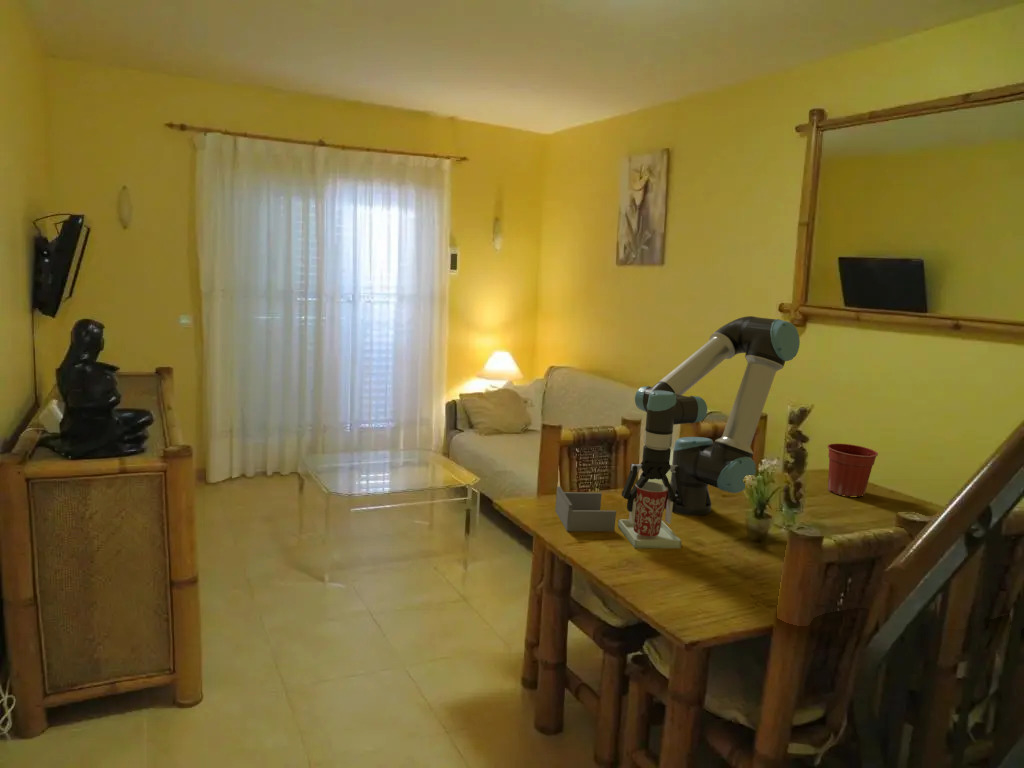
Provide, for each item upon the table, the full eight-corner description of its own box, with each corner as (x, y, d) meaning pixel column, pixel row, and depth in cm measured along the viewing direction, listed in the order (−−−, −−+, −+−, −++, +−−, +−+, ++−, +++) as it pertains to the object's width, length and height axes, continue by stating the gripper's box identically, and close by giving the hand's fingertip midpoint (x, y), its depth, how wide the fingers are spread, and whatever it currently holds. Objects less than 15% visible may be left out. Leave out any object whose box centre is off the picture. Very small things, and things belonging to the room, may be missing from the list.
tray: (660, 526, 217) (661, 519, 216) (680, 548, 201) (681, 540, 201) (617, 526, 215) (618, 519, 214) (634, 548, 199) (635, 540, 199)
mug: (649, 540, 200) (654, 493, 198) (623, 529, 207) (628, 484, 205) (676, 531, 209) (682, 486, 206) (650, 521, 215) (656, 477, 213)
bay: (599, 511, 227) (601, 487, 225) (614, 531, 211) (616, 505, 209) (555, 510, 225) (557, 486, 223) (567, 531, 209) (569, 505, 207)
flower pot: (882, 499, 256) (889, 455, 253) (842, 501, 252) (849, 456, 249) (849, 484, 272) (855, 443, 269) (811, 486, 267) (817, 443, 265)
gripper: (690, 443, 209) (682, 517, 213) (614, 442, 205) (607, 517, 209) (701, 450, 201) (692, 527, 205) (622, 449, 198) (615, 526, 202)
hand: (649, 522), depth 207 cm, fingers closed on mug, 10 cm apart
